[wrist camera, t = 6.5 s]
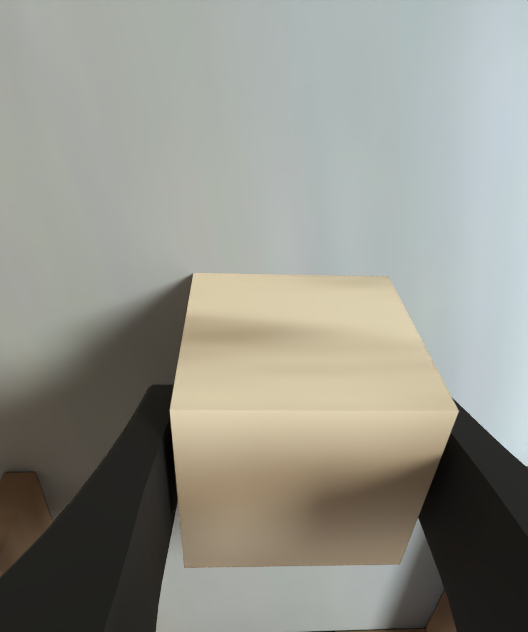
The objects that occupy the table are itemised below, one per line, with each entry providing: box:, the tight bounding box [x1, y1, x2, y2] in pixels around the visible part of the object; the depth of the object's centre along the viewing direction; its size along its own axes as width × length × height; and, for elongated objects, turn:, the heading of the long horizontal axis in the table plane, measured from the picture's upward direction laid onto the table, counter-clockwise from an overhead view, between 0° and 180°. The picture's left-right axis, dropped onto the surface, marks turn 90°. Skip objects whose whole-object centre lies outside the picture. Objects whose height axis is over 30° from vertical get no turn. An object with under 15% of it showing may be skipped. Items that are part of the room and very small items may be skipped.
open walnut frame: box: [0, 467, 528, 632], centre depth 18 cm, size 13×18×3 cm
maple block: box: [170, 273, 459, 568], centre depth 12 cm, size 5×5×5 cm
